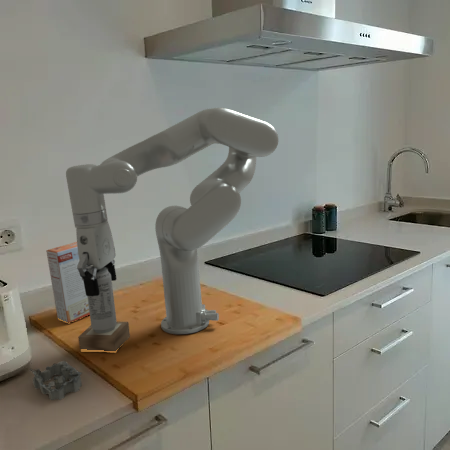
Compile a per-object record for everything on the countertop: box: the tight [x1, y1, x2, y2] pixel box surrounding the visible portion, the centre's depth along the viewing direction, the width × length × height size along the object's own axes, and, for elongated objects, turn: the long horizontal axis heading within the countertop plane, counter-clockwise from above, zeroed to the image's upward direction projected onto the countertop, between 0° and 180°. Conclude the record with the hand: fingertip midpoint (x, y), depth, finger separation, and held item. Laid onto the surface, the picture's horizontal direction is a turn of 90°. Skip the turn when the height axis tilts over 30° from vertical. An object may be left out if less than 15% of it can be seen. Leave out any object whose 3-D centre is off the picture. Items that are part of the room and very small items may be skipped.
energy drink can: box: [87, 267, 118, 333], centre depth 115 cm, size 6×6×15 cm
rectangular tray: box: [78, 321, 131, 351], centre depth 117 cm, size 9×9×4 cm
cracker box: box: [46, 241, 93, 323], centre depth 135 cm, size 14×6×21 cm, turn 141°
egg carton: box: [29, 360, 83, 401], centre depth 99 cm, size 11×8×4 cm
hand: (102, 287), depth 114 cm, fingers open, 9 cm apart
